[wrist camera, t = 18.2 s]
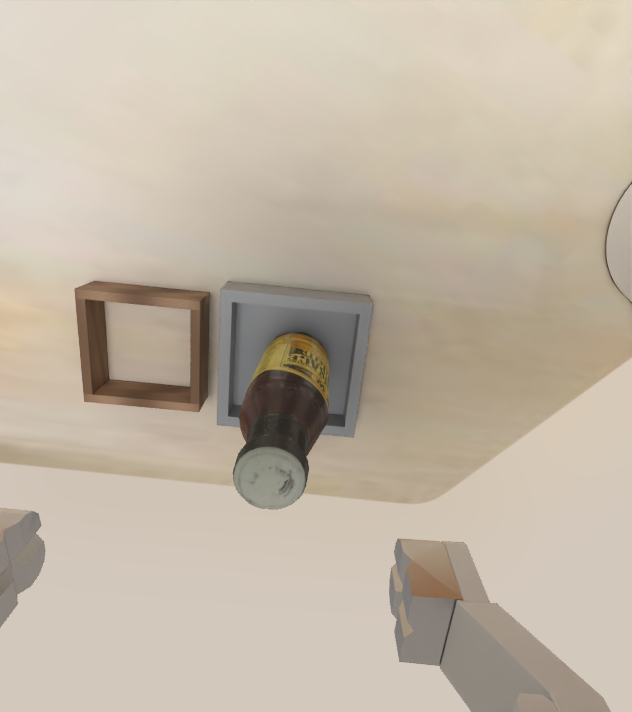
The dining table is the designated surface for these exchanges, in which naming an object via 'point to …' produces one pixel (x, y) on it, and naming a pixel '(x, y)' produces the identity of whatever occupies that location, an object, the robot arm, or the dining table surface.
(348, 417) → the grey tray
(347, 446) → the dining table surface
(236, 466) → the sauce bottle
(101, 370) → the walnut collar
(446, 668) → the robot arm
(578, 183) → the dining table surface
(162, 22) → the dining table surface
